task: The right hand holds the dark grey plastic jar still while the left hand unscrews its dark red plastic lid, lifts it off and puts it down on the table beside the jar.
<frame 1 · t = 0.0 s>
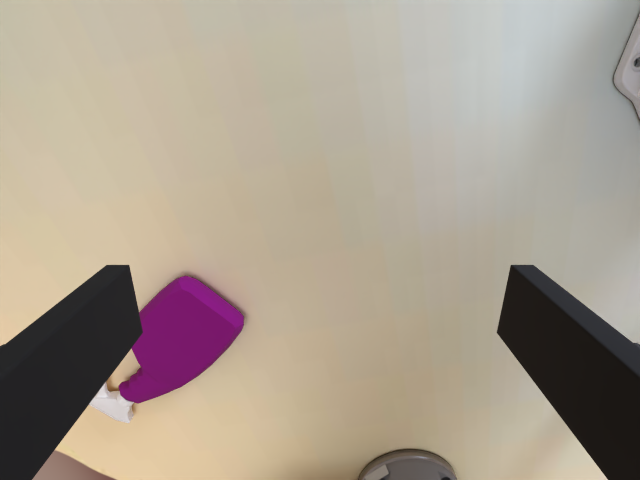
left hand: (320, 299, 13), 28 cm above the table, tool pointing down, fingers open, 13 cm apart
spray bottle: (161, 351, 48), on the table
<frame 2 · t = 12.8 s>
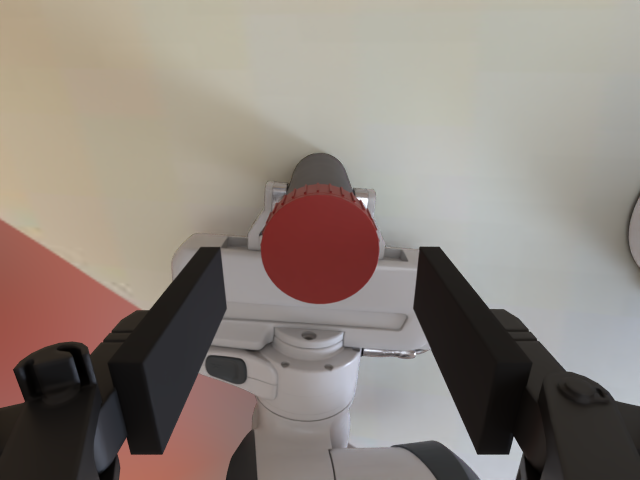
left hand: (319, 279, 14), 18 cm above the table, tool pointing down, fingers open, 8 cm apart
right hand: (320, 186, 25), fingers closed on jar, 5 cm apart
jar: (319, 180, 31), on the table, touching right hand
lid: (320, 249, 17), point 15 cm above the table, screwed on, not yet turned
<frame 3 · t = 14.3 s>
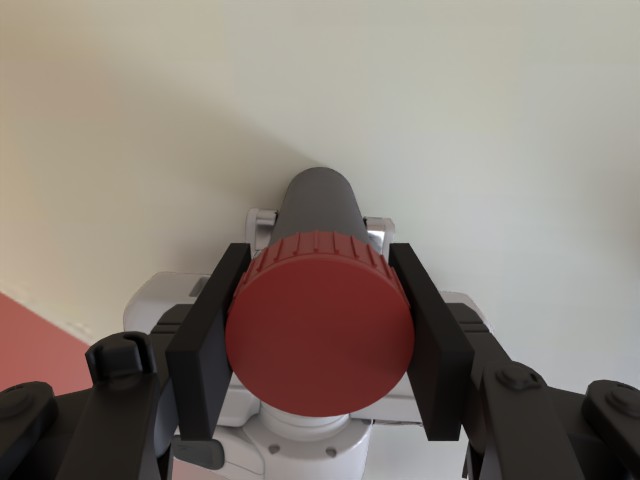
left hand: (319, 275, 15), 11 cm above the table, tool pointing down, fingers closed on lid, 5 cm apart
jar: (319, 201, 25), on the table, touching right hand
lid: (319, 338, 11), point 15 cm above the table, screwed on, not yet turned, touching left hand
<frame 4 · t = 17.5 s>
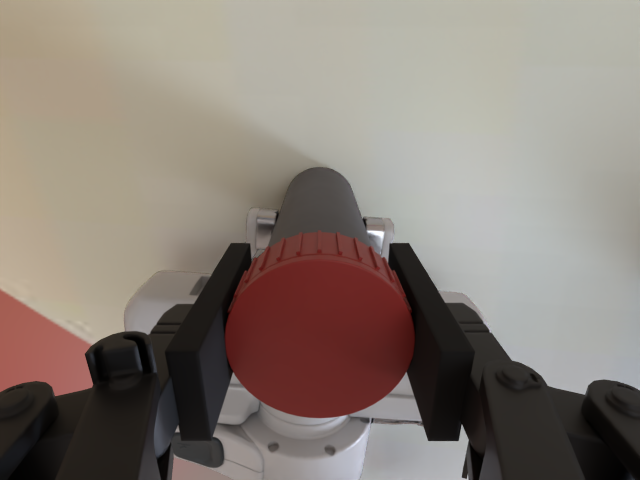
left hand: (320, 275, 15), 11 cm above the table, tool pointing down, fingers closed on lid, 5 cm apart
jar: (319, 201, 25), on the table, touching right hand
lid: (319, 339, 11), point 16 cm above the table, turned 94° so far, risen 0.1 cm, still on its thread, touching left hand
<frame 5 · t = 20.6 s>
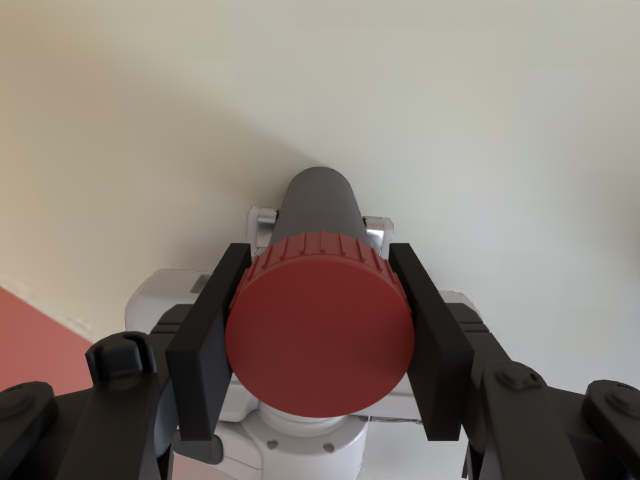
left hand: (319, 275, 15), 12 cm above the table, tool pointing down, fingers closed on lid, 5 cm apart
jar: (319, 200, 25), on the table, touching right hand
lid: (319, 339, 11), point 16 cm above the table, turned 189° so far, risen 0.3 cm, still on its thread, touching left hand
when the left hand's fingers open (0 cm above the table, at t = 35.0 s): lid drops 2 cm, point 2 cm above the table.
when the right hand's fingers open (6 cm above the table, at t = 35.7 s): jar stays where it is, on the table.
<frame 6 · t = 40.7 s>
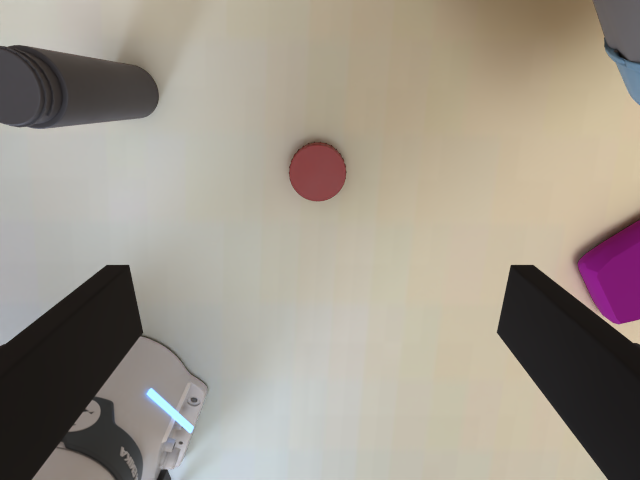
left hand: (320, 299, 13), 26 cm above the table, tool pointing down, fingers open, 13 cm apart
jar: (133, 92, 35), on the table
lid: (317, 173, 36), point 2 cm above the table, off its thread
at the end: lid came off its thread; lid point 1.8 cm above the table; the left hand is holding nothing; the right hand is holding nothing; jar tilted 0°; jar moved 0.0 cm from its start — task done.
